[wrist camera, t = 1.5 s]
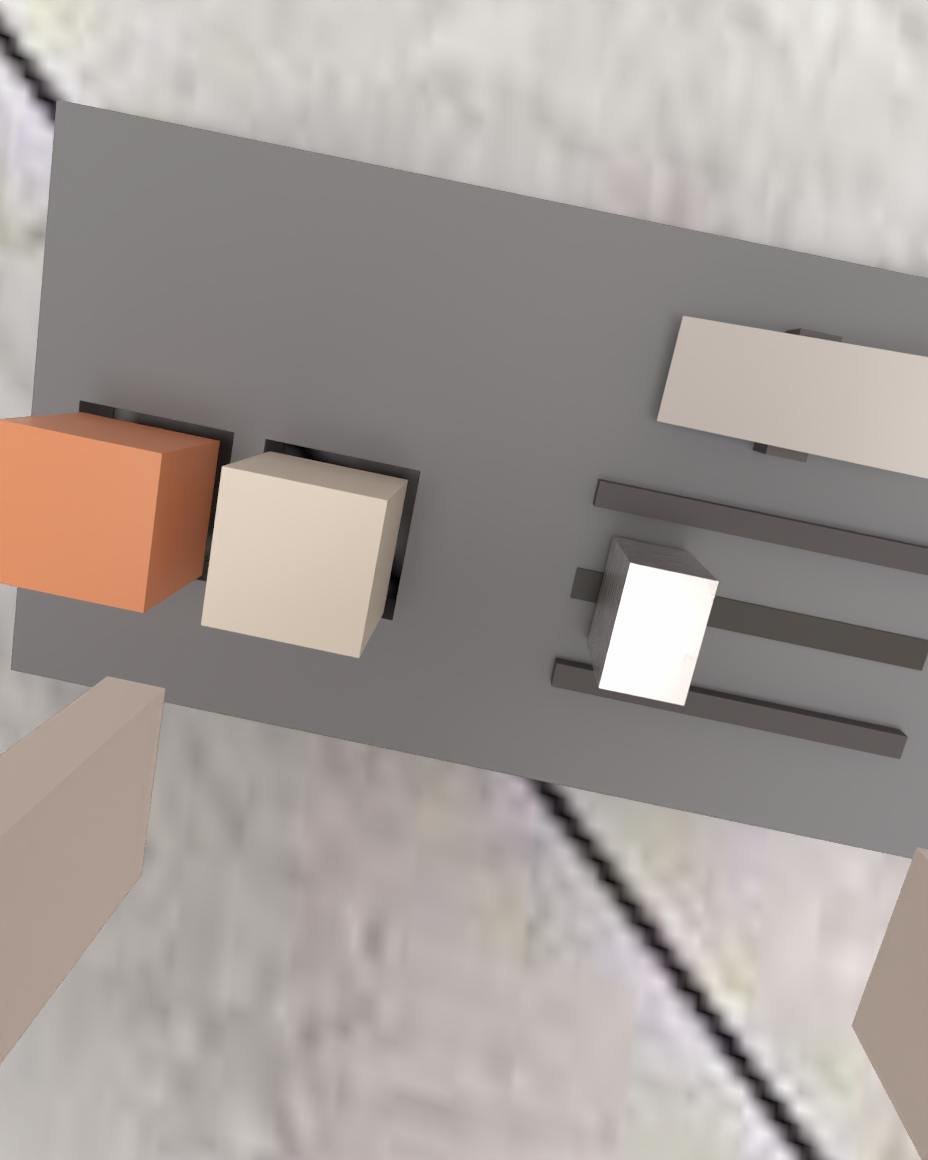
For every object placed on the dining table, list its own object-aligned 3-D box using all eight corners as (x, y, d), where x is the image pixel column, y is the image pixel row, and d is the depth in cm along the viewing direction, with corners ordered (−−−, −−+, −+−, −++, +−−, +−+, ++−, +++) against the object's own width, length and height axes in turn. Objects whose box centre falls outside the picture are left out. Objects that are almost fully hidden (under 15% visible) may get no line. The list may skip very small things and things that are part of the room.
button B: (250, 585, 28) (200, 624, 24) (269, 451, 27) (222, 466, 23) (383, 613, 28) (359, 658, 24) (408, 479, 27) (387, 500, 23)
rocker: (661, 421, 26) (657, 420, 25) (687, 319, 25) (682, 315, 25) (952, 483, 23) (956, 484, 23) (990, 370, 23) (995, 368, 22)
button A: (69, 547, 28) (-15, 580, 24) (82, 412, 27) (-3, 419, 23) (201, 575, 28) (143, 613, 24) (219, 440, 27) (162, 453, 23)
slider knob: (586, 644, 28) (598, 688, 24) (613, 535, 27) (630, 563, 23) (660, 659, 28) (683, 705, 24) (688, 551, 27) (719, 581, 23)
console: (48, 647, 32) (-14, 684, 28) (96, 123, 28) (31, 83, 24) (899, 825, 32) (951, 886, 28) (1077, 325, 28) (1166, 317, 24)
